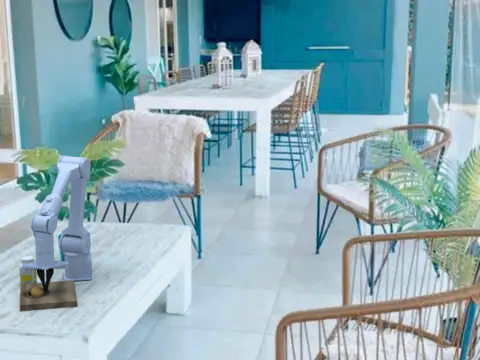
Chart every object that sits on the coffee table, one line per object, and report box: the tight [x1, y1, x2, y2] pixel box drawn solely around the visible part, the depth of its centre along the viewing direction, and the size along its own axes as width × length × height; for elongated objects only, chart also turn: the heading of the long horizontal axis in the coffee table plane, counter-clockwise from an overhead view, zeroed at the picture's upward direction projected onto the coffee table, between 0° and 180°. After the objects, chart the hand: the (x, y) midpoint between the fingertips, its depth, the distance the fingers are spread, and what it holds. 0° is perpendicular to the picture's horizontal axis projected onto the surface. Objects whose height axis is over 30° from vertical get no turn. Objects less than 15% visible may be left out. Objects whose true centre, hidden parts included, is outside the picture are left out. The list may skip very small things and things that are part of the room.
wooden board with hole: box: [19, 280, 78, 312], centre depth 216 cm, size 18×18×2 cm
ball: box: [31, 286, 44, 296], centre depth 215 cm, size 4×4×4 cm
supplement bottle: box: [19, 255, 38, 285], centre depth 226 cm, size 5×5×10 cm
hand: (45, 290), depth 216 cm, fingers closed
